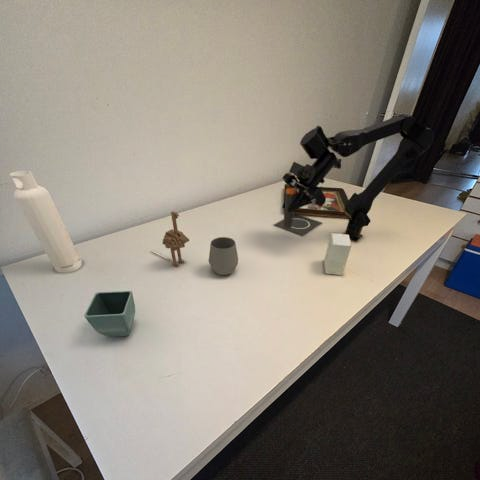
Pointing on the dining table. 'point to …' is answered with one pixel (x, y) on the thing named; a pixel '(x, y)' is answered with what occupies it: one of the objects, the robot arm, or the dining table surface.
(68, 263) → the bottle
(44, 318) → the dining table surface
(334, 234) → the small box
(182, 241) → the ostrich figurine
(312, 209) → the framed painting
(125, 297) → the flower pot
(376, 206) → the dining table surface
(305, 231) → the board
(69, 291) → the dining table surface
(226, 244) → the cup
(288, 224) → the marker
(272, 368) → the dining table surface
